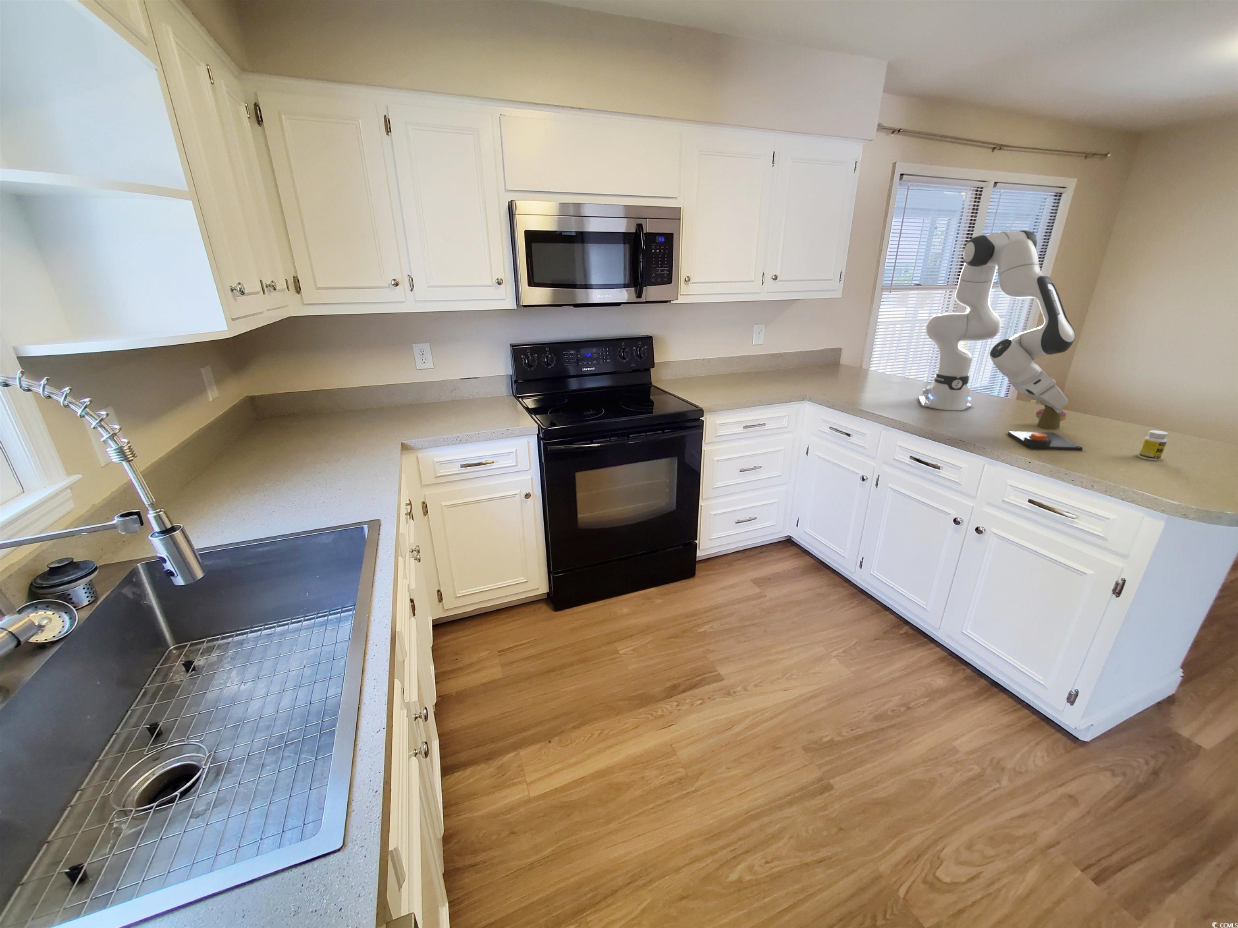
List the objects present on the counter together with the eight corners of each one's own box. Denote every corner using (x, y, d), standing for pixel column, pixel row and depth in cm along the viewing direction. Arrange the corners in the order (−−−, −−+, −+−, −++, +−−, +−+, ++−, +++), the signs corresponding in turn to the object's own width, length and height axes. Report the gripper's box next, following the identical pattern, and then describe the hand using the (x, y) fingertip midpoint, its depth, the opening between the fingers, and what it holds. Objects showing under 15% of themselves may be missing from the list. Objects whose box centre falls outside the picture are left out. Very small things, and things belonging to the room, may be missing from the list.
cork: (1063, 429, 166) (1073, 397, 162) (1043, 428, 167) (1052, 396, 163) (1052, 424, 171) (1061, 392, 167) (1032, 423, 172) (1041, 392, 168)
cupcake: (1031, 427, 183) (1040, 396, 179) (1034, 422, 189) (1042, 391, 185) (1061, 431, 178) (1071, 399, 173) (1063, 426, 183) (1072, 394, 179)
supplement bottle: (1155, 461, 149) (1165, 435, 146) (1134, 457, 153) (1144, 431, 150) (1163, 459, 151) (1173, 432, 148) (1143, 454, 155) (1152, 428, 152)
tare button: (1027, 437, 166) (1028, 432, 165) (1041, 437, 165) (1042, 432, 165) (1034, 440, 162) (1035, 435, 162) (1048, 441, 162) (1049, 436, 161)
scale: (1004, 434, 177) (1006, 426, 176) (1052, 435, 174) (1054, 427, 173) (1029, 449, 162) (1031, 441, 161) (1082, 451, 159) (1085, 442, 158)
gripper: (1004, 380, 176) (1028, 408, 177) (1037, 394, 157) (1063, 424, 159) (1022, 368, 173) (1046, 396, 175) (1057, 380, 155) (1084, 410, 156)
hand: (1055, 409), depth 167 cm, fingers closed on cork, 4 cm apart
